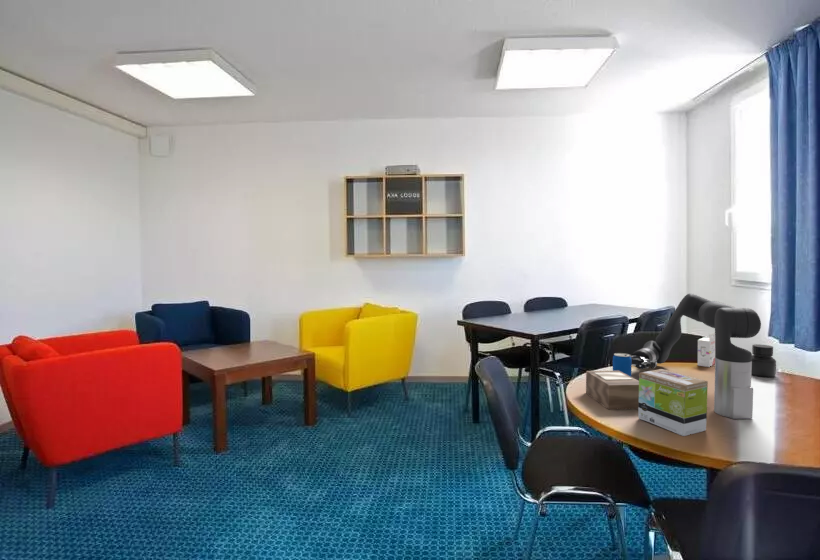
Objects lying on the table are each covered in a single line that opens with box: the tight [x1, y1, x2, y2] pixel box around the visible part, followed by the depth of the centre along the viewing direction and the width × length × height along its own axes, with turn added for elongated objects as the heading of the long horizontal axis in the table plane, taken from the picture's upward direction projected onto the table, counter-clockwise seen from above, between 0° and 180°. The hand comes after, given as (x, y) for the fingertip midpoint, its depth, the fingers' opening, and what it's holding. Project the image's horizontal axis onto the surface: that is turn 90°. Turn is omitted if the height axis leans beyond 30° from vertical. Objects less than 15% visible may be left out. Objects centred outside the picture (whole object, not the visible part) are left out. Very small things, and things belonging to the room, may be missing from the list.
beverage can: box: [612, 352, 632, 377], centre depth 174 cm, size 6×6×12 cm
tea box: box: [637, 368, 709, 437], centre depth 134 cm, size 15×10×15 cm
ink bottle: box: [751, 343, 777, 378], centre depth 187 cm, size 10×9×12 cm
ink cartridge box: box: [697, 331, 716, 368], centre depth 205 cm, size 9×5×15 cm, turn 132°
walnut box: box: [585, 370, 639, 410], centre depth 157 cm, size 18×12×8 cm, turn 1°
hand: (630, 364), depth 180 cm, fingers open, 8 cm apart
